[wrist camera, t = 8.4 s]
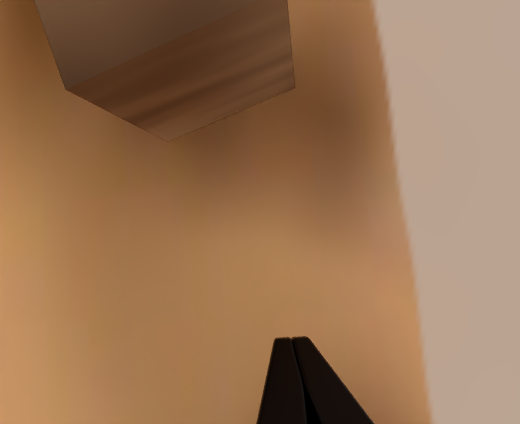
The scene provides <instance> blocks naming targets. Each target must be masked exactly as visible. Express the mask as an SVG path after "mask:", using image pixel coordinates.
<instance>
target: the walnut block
mask: <svg viewBox="0 0 520 424" xmlns="http://www.w3.org/2000/svg"><path fill="white" fill-rule="evenodd" d="M34 2H35V5H36V8H37V10H38V13H39V16H40V19H41V22H42V24H43V27H44V30H45V33H46V36H47V39H48V41H49V44H50V47H51V50H52V53H53V55H54V58H55V61H56V64H57V67H58V70H59V72H60V75H61V78H62V81H63V84H64V87H65V89H66V90H68V91H70V92H71V93H73V94H75V95H77V96H79V97H81V98H83V99H85V100H87V101H89V102H91V103H93V104H95V105H97V106H99V107H101V108H103V109H105V110H106V111H108V112H110V113H112V114H114V115H116V116H118V117H120V118H122V119H124V120H126V121H128V122H130V123H132V124H134V125H136V126H138V127H140V128H141V129H143V130H145V131H147V132H149V133H151V134H153V135H155V136H157V137H159V138H161V139H163V140H165V141H167V142H168V141H170V140H173V139H175V138H178V137H180V136H182V135H185V134H187V133H189V132H192V131H194V130H197V129H199V128H201V127H204V126H206V125H208V124H211V123H213V122H216V121H218V120H220V119H223V118H225V117H227V116H230V115H232V114H235V113H237V112H239V111H242V110H244V109H246V108H249V107H251V106H253V105H256V104H258V103H261V102H263V101H265V100H268V99H270V98H272V97H275V96H277V95H280V94H282V93H284V92H287V91H289V90H291V89H294V88H295V82H294V70H293V59H292V48H291V36H290V25H289V14H288V2H287V0H34Z"/></svg>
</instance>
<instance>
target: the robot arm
mask: <svg viewBox="0 0 520 424" xmlns="http://www.w3.org/2000/svg"><path fill="white" fill-rule="evenodd" d="M256 424H374V423H373V422H372V420H371V419H370V418H369V416H368V415H367V414H366V412H365V411H364V410H363V408H362V407H361V406H360V405H359V403H358V402H357V401H356V399H355V398H354V397H353V395H352V394H351V393H350V391H349V390H348V389H347V387H346V386H345V385H344V383H343V382H342V381H341V380H340V378H339V377H338V376H337V374H336V373H335V372H334V370H333V369H332V368H331V366H330V365H329V364H328V362H327V361H326V360H325V358H324V357H323V356H322V355H321V353H320V352H319V351H318V349H317V348H316V347H315V345H314V344H313V343H312V341H311V340H310V339H309V338H308V337H306V336H302V337H292V339H290V338H289V337H281V338H275V339H274V343H273V347H272V352H271V357H270V362H269V366H268V371H267V376H266V381H265V385H264V390H263V395H262V399H261V404H260V409H259V414H258V418H257V423H256Z"/></svg>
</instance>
